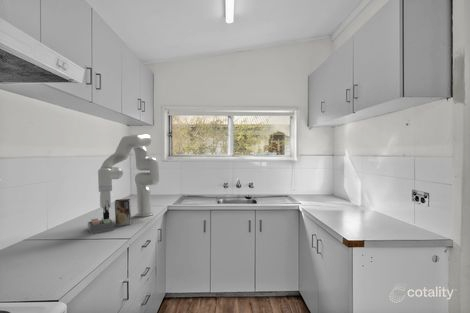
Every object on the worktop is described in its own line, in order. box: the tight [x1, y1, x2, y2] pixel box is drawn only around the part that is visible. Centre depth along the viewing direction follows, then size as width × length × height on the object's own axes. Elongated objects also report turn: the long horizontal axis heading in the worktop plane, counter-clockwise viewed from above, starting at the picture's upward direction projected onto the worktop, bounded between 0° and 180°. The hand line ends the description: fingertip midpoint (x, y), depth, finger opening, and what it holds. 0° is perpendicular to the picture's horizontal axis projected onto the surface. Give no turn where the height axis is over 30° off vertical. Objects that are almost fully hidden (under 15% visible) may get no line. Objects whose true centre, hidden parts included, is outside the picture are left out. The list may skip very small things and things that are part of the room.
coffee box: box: [114, 198, 132, 227], centre depth 203 cm, size 9×6×16 cm
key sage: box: [103, 218, 111, 224], centre depth 189 cm, size 4×4×4 cm
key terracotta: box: [92, 219, 100, 225], centre depth 186 cm, size 4×4×4 cm
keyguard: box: [87, 218, 115, 234], centre depth 190 cm, size 13×13×4 cm
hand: (106, 218), depth 189 cm, fingers closed
